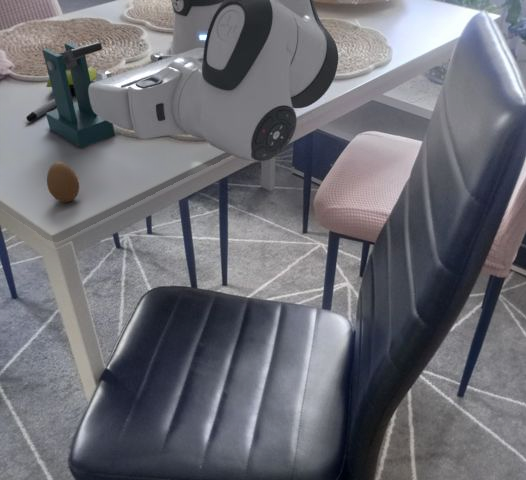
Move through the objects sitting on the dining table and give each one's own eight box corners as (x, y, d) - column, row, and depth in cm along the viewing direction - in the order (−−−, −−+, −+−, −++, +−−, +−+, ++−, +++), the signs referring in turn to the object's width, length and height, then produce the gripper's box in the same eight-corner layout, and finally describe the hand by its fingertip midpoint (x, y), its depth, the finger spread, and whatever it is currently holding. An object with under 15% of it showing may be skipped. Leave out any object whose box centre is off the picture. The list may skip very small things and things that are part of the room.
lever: (104, 53, 92) (98, 36, 91) (76, 61, 89) (69, 44, 88) (78, 66, 99) (72, 51, 98) (52, 74, 97) (45, 58, 96)
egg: (72, 210, 87) (62, 173, 83) (46, 205, 88) (35, 168, 84) (88, 195, 90) (79, 158, 86) (62, 190, 91) (52, 153, 87)
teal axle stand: (114, 134, 104) (99, 51, 95) (80, 148, 101) (60, 63, 91) (83, 117, 109) (65, 36, 100) (49, 129, 106) (27, 46, 96)
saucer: (58, 68, 121) (61, 79, 122) (42, 76, 114) (45, 87, 115) (99, 64, 120) (101, 75, 121) (86, 71, 113) (88, 83, 114)
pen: (25, 120, 108) (25, 114, 107) (78, 87, 119) (78, 81, 118) (31, 124, 108) (31, 117, 107) (83, 90, 119) (84, 84, 118)
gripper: (247, 50, 81) (182, 26, 88) (123, 94, 71) (61, 63, 78) (247, 96, 86) (186, 70, 92) (131, 144, 75) (72, 111, 82)
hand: (128, 67), depth 85 cm, fingers open, 8 cm apart
